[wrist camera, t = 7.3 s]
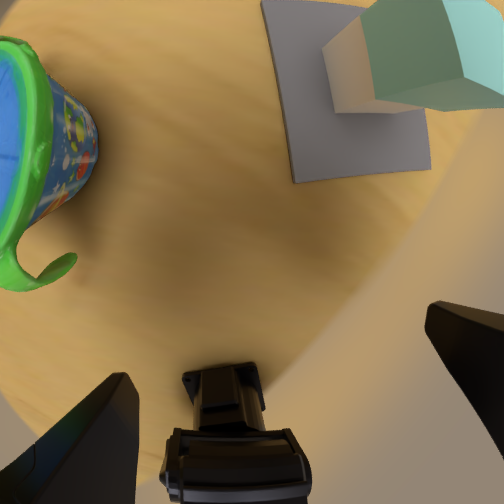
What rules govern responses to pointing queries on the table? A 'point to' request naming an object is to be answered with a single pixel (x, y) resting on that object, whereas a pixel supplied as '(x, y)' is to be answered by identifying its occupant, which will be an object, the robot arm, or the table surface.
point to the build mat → (321, 103)
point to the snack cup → (37, 156)
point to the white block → (354, 74)
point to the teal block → (436, 53)
